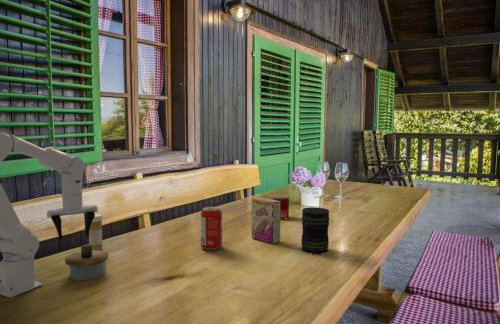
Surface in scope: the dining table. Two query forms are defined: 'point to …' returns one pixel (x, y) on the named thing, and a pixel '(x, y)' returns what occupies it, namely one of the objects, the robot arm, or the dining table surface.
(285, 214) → the canned food
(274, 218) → the candy bar box
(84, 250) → the lid
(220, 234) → the soda can
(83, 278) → the bowl
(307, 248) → the storage jar
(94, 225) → the sprinkles bottle
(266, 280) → the dining table surface
